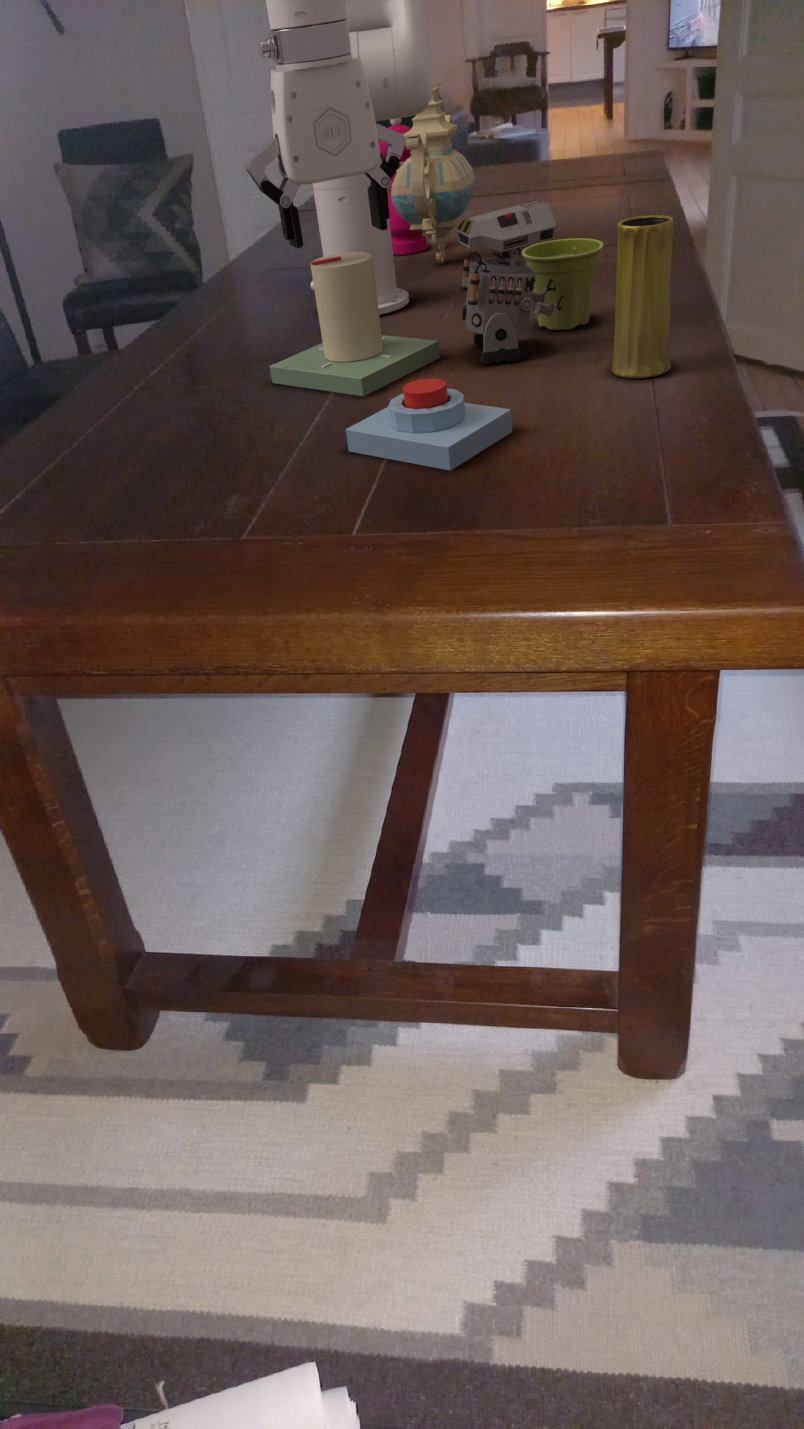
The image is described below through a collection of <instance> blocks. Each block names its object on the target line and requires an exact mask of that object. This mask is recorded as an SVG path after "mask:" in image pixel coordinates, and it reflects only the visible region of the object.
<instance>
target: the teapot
mask: <svg viewBox="0 0 804 1429" xmlns="http://www.w3.org/2000/svg"><path fill="white" fill-rule="evenodd" d="M429 52H431V51H430V49H429ZM442 82H443V79H440V80H439V82H438V84H437V85H436V87H432V89H431V98H430V101H429V104H428V106H427V107H426V109H425V110H424V111H423V112H421V113H419V114H417V115H414V117H413V118H411V121H412V126H411V127H410V128H411V130H410V131H408V132H406V133H405V134H403V135H404V136H405V137H406V150H411V153H410V154H411V156H410V157H409V158H408V159H407V160H406V161H405V162H404V164H403V165H402V166H401V167H400V168H399V170H398V171H397V174H396V176H395V179H394V181H393V184H392V191H391V198H392V203H393V205H394V207H395V209H396V211H397V212H398V214H399V215H400V216H401V217H402V218H403V219H404V220H405V221H407V222H408V223H410V225H411V227H410V230H411V231H421V232H423V234H424V236H425V237H426V239H427V240H428V242H429V243H430V244H431V245H432V246H433V248H434V251H435V261H437V263H438V264H444V260H445V256H446V250H445V247H446V245H447V244H446V243H447V241H448V240H449V239H450V233H451V231H452V229H454V228H457V227H458V226H459V225H460V224H461V223H462V222H463V220H464V219H466V215H465V213H464V212H465V211H466V209H467V207H468V205H469V203H470V201H471V200H472V197H473V193H474V191H475V187H476V175H475V171H474V168H473V167H472V165H471V164H470V162H469V161H468V159H467V158H466V156H464V155H463V154H462V153H461V152H459V151H457V150H456V149H454V148H453V143H452V136H453V134H454V132H455V131H457V130H458V124H457V123H453V119H452V114H446V112H445V111H442V108H441V107H442V104H443V102H444V100H443V99H440V98H439V90H440V86H441V85H442Z"/></svg>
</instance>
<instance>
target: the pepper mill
mask: <svg viewBox="0 0 804 1429" xmlns="http://www.w3.org/2000/svg"><path fill="white" fill-rule="evenodd" d="M389 123H390V125H391V126H389V127H388V128H389V129H391V130H393V131H396V132H398V133H400V134H405V133H406V132H408V131H410V130H411V128H412V127H410V126H407V125H405V124H401V123H402V118H398V119H390V120H389ZM379 147H380V154H381V155H382V156H383V158H385V157H386V156H387V153H388V152H387V151H388V144H387V143H386V142H384V141H382V140H379ZM410 153H411V150H406V143H405V146H404V149H403V153H402V156H401V158H400V165H399V167H398V169H397V170H396V172H395V174H394V175H393V177H392V178H391V180H390V185H389V192H388V204H389V213H390V217H389V221H390V230H391V240H392V249H393V256H394V255H395V256H405V255H413V254H419V253H422V252H424V251H426V250H427V249H428V241H427V236H426V235H423V234H424V233H423V232H421V231H411V230H410V227H411V225H410V223H408V222H407V221H405V220H404V219H403V218H402V217H401V216H400V215H399V214H398V212H397V211H396V209H395V207H394V205H393V203H392V198H391V191H392V184H393V181H394V179H395V176H396V174H397V171H398V170H399V168H400V167H401V166H402V165H403V164H404V162H405V161H406V160H407V159H408V158H409V157H410V156H411V154H410Z"/></svg>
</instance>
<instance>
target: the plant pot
mask: <svg viewBox="0 0 804 1429" xmlns="http://www.w3.org/2000/svg"><path fill="white" fill-rule="evenodd" d="M603 249H604V243H603V241H602V240H599V239H596V238H595V239H594V238H585V237H584V238H582V237H580V238H579V237H576V238H574V237H573V238H572V237H571V238H561V239H554V240H545V241H542V242H538V243H534V244H531V245H528V246H527V247H525V248H523V250H522V251H521V255H522V257H523V258H524V259H525V262H526V263H525V264H526V266H528V267H530V268H531V269H532V271H533V272H534V273H535V280H536V281H535V282H534V290H533V292H534V293H537V292H539V293H541V292H542V291H543V290H544V289H545V288H547V285H548V283H549V280H550V278H551V279H552V280H553V281H554V282H555V283H554V282H552V281H551V284H550V287H549V288H554V287H555V284H556V290H554V291H548V293H547V294H546V295H545V296H544V297H545V302H544V303H543V304H544V305H545V304H546V303H547V302H549V303H552V304H555V303H557V302H558V301H559V299H560V297H561V295H562V294H563V296H564V299H563V298H562V299H561V301H560V304H559V307H561V305H562V308H561V311H559V310H558V308H556V309H554V311H553V314H552V315H551V316H548V315H544V314H542V313H541V314H540V315H538V314H536V317H537V318H536V319H537V323H538V327H540V328H546V329H547V330H548V331H549V330H550V331H568V330H569V331H570V330H573V329H574V328H576V327H577V326H579V325H580V326H585V325H586V324H588V323H589V321H590V315H591V309H592V308H591V307H592V298H593V293H594V292H593V290H594V283H595V276H596V271H597V264H598V263H599V259H600V255H601V251H602V250H603Z"/></svg>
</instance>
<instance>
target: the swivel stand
mask: <svg viewBox="0 0 804 1429" xmlns="http://www.w3.org/2000/svg"><path fill="white" fill-rule="evenodd" d="M382 342H383V351H382V352H381V353H379V354H378V355H376V356H373V357H371V358H367V359H363V360H358V361H350V362H336V361H330V360H328V359H326V358H325V355H324V348H323V342H321V343H319V344H317V345H314V346H312V347H309V348H307V349H305V350H302V351H300V352H299V353H296V354H293V355H292V356H289V357H287V358H285V359H282V360H280V361H278V362H275V363H273V364H271V365H269V372H270V378H271V382H272V384H276V385H282V386H289V387H296V388H302V389H310V390H315V391H322V392H331V393H339V394H345V395H351V396H359V397H366V396H367V395H369V394H372V393H373V392H376V391H377V390H380V389H382V388H384V387H385V386H387V385H389V384H391V383H393V382H396V381H397V380H399V379H401V378H404V377H405V376H407V375H409V374H411V373H414V372H415V371H417V370H419V369H420V368H423V367H424V366H427V365H428V364H431V363H433V362H435V361H437V360H439V359H440V358H441V354H440V353H441V352H440V341H439V340H435V339H433V340H432V339H424V338H415V337H407V336H405V337H404V336H397V335H396V336H394V335H385V334H382Z"/></svg>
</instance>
